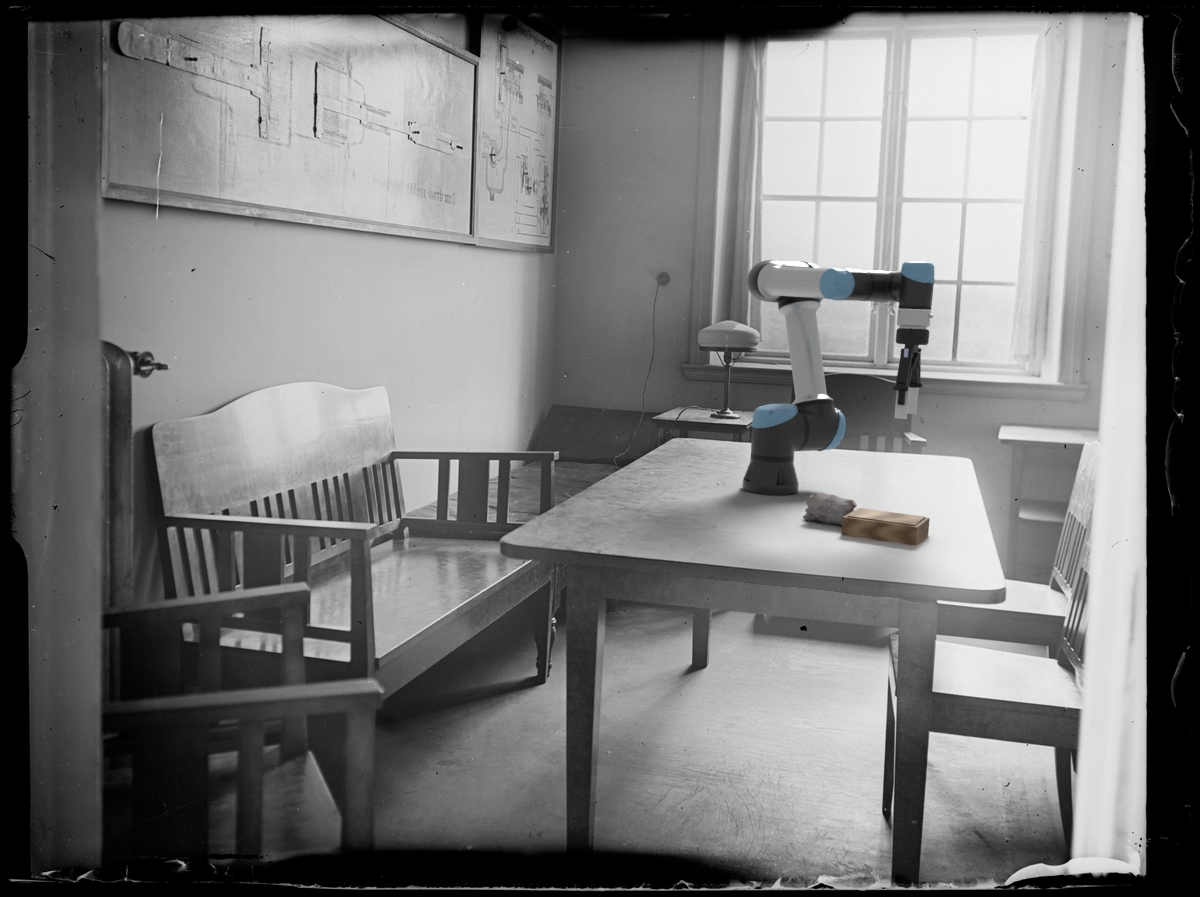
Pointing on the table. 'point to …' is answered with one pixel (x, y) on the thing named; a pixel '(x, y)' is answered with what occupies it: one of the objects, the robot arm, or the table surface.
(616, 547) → the table surface
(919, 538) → the walnut slab
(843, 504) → the stone
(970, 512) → the table surface
